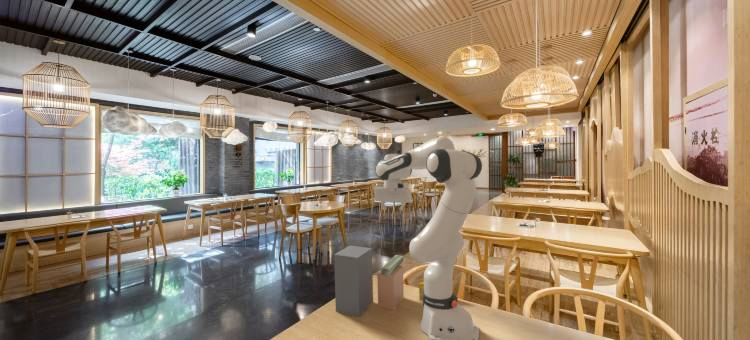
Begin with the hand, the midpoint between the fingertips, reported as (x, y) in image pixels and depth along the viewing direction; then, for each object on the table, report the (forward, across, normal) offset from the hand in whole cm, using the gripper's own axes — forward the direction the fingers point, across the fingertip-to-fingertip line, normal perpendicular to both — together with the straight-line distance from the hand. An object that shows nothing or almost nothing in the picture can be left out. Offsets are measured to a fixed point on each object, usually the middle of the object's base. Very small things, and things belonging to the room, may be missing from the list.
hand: (392, 210), depth 149 cm
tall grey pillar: (+41, -9, -27) cm, 50 cm away
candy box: (+41, +24, -6) cm, 48 cm away
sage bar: (+25, +5, -14) cm, 29 cm away
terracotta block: (+41, +5, -17) cm, 44 cm away
